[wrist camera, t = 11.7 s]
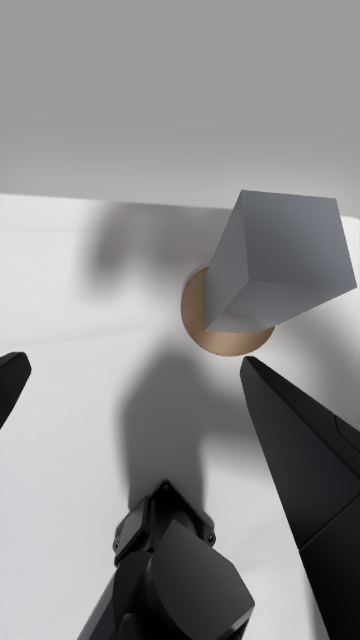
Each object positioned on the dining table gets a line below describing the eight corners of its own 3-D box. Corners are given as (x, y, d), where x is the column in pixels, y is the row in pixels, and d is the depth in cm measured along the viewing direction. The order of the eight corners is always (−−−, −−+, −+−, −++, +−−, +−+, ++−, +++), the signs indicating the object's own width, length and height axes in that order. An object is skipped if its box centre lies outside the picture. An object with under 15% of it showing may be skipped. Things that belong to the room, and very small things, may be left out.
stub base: (288, 311, 25) (316, 296, 20) (231, 377, 22) (249, 377, 17) (222, 253, 26) (234, 227, 22) (161, 308, 24) (161, 292, 19)
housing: (257, 333, 22) (357, 287, 11) (203, 331, 22) (248, 281, 10) (252, 284, 24) (335, 198, 12) (203, 281, 24) (241, 190, 12)
